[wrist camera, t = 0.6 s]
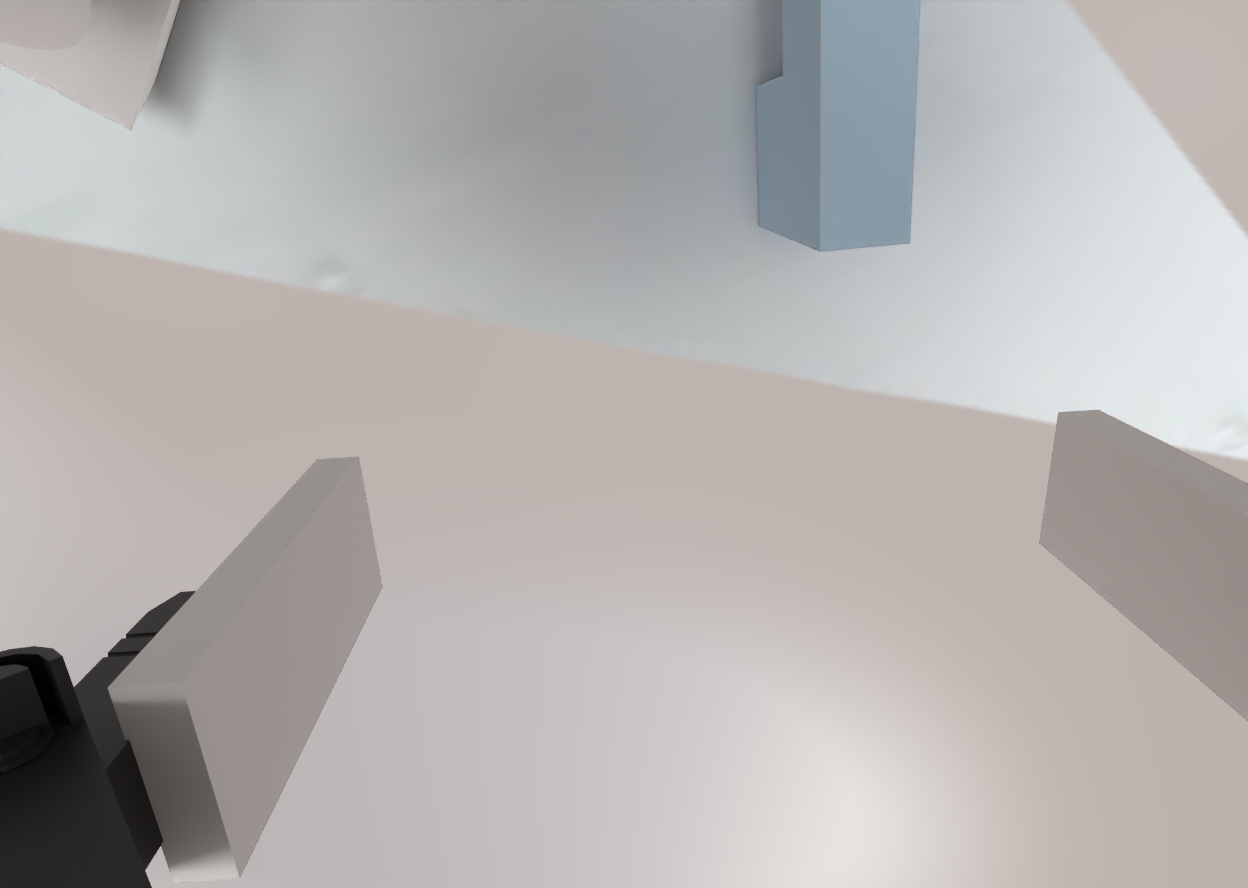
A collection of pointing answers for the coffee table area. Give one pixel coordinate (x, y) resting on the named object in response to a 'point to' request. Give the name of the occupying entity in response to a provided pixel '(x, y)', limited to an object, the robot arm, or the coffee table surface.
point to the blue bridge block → (840, 124)
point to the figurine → (89, 49)
